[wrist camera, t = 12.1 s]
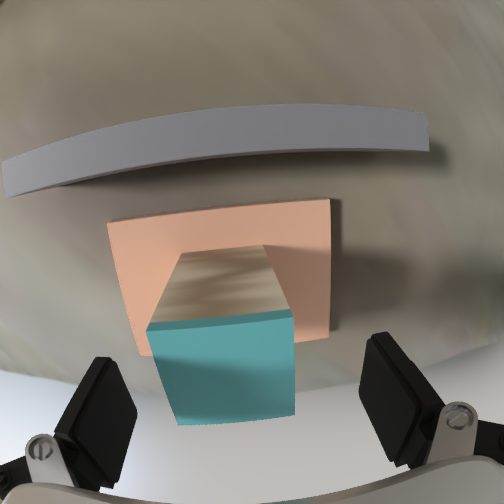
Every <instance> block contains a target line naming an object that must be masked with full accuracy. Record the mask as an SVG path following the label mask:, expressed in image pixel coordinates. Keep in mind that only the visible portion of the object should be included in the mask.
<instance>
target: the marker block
mask: <svg viewBox="0 0 504 504" xmlns="http://www.w3.org/2000/svg"><path fill="white" fill-rule="evenodd" d="M146 335H147V338H148V341H149V345H150V348H151V351H152V354H153V357H154V360H155V363H156V366H157V369H158V372H159V375H160V378H161V381H162V384H163V387H164V389H165V392H166V395H167V397H168V400H169V403H170V405H171V408H172V411H173V413H174V416H175V418H176V420H177V423H178V425H206V424H223V423H236V422H246V421H255V420H264V419H271V418H278V417H285V416H291V415H295V358H294V317H293V314H292V312H291V310H290V307H289V305H288V303H287V300H286V298H285V296H284V293H283V291H282V289H281V286H280V284H279V282H278V279H277V277H276V275H275V272H274V270H273V268H272V266H271V263H270V261H269V259H268V256H267V254H266V252H265V249H264V247H263V245H262V244H261V245H252V246H243V247H233V248H224V249H215V250H206V251H197V252H188V253H181V255H180V257H179V259H178V261H177V263H176V265H175V267H174V269H173V272H172V274H171V276H170V278H169V280H168V282H167V284H166V287H165V289H164V291H163V293H162V295H161V298H160V300H159V302H158V304H157V306H156V309H155V311H154V313H153V315H152V318H151V320H150V322H149V325H148V327H147V329H146Z"/></svg>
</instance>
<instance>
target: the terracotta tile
mask: <svg viewBox="0 0 504 504" xmlns="http://www.w3.org/2000/svg"><path fill="white" fill-rule="evenodd" d="M107 227H108V232H109V237H110V243H111V248H112V252H113V257H114V262H115V266H116V271H117V275H118V279H119V283H120V287H121V291H122V295H123V299H124V303H125V306H126V310H127V314H128V317H129V321H130V324H131V327H132V331H133V334H134V337H135V340H136V343H137V347H138V350H139V353H140V356H153V354H152V351H151V348H150V345H149V341H148V338H147V335H146V329H147V327H148V325H149V322H150V320H151V318H152V315H153V313H154V311H155V309H156V306H157V304H158V302H159V300H160V298H161V295H162V293H163V291H164V289H165V287H166V284H167V282H168V280H169V278H170V276H171V274H172V272H173V269H174V267H175V265H176V263H177V261H178V259H179V257H180V255H181V253H188V252H197V251H206V250H215V249H224V248H233V247H243V246H252V245H261V244H262V245H263V247H264V249H265V252H266V254H267V256H268V259H269V261H270V263H271V266H272V268H273V270H274V272H275V275H276V277H277V279H278V282H279V284H280V286H281V289H282V291H283V293H284V296H285V298H286V300H287V303H288V305H289V307H290V310H291V312H292V314H293V317H294V343H297V342H304V341H310V340H316V339H322V338H328V337H329V322H330V294H331V218H330V199H328V198H325V197H323V198H308V199H295V200H282V201H270V202H259V203H248V204H238V205H228V206H218V207H209V208H200V209H192V210H183V211H175V212H168V213H160V214H153V215H145V216H138V217H131V218H124V219H118V220H112V221H110V222H109V223H107Z"/></svg>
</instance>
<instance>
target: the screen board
mask: <svg viewBox="0 0 504 504" xmlns="http://www.w3.org/2000/svg"><path fill="white" fill-rule="evenodd" d="M326 151H370V152H382V151H429V137H428V125H427V115H426V113H421V112H414V111H407V110H399V109H391V108H382V107H371V106H358V105H340V104H266V105H248V106H235V107H223V108H214V109H205V110H197V111H189V112H182V113H176V114H169V115H163V116H158V117H152V118H147V119H142V120H137V121H132V122H127V123H123V124H118V125H114V126H110V127H106V128H102V129H98V130H94V131H90V132H87V133H83V134H80V135H76V136H73V137H70V138H66V139H63V140H60V141H57V142H54V143H51V144H48V145H45V146H42V147H39V148H36V149H34V150H31V151H28V152H26V153H23V154H20V155H18V156H15V157H13V158H10V159H8V160H5V161H3V162H2V174H3V184H4V192H5V199H6V198H10V197H14V196H18V195H22V194H27V193H31V192H35V191H40V190H44V189H49V188H54V187H59V186H63V185H67V184H71V183H75V182H79V181H84V180H88V179H92V178H97V177H102V176H107V175H112V174H117V173H122V172H127V171H133V170H138V169H144V168H150V167H156V166H163V165H169V164H176V163H183V162H191V161H199V160H207V159H216V158H226V157H236V156H247V155H260V154H275V153H294V152H326Z"/></svg>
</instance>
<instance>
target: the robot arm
mask: <svg viewBox="0 0 504 504" xmlns="http://www.w3.org/2000/svg"><path fill="white" fill-rule="evenodd" d="M359 397H360V400H361V402H362V404H363V406H364V408H365V410H366V412H367V414H368V416H369V419H370V421H371V423H372V425H373V427H374V429H375V431H376V433H377V435H378V438H379V440H380V442H381V445H382V447H383V449H384V451H385V453H386V456H387V458H388V459H389V461H390V462H393V461H394V463H395V466H396V467H399V466H402V465H404V464H407V465H408V467H409V468H410V470H409V471H406V472H403V473H400V474H397V475H395V476H392V477H389V478H385V479H383V480H379V481H376V482H372V483H369V484H365V485H362V486H358V487H354V488H350V489H346V490H343V491H338V492H334V493H329V494H325V495H319V496H314V497H308V498H303V499H296V500H289V501H282V502H272V503H262V504H504V425H502V424H496V423H491V422H487V421H482V420H478V416H477V412H476V410H475V409H474V408H473V407H472V406H471V405H469V404H467V403H464V402H452V403H449V404H447V405H445V404H444V402H443V401H442V399H441V398H440V397H439V396H438V394H437V393H436V391H435V390H434V389H433V387H432V386H431V385H430V384H429V382H428V381H427V379H426V378H425V377H424V376H423V374H422V373H421V372H420V370H419V369H418V368H417V366H416V365H415V364H414V363H413V362H412V361H411V360H410V359H409V358H408V357H407V355H406V354H405V353H404V352H403V350H402V349H401V348H400V347H399V345H398V344H397V343H396V341H395V340H394V339H393V338H392V336H391V335H390V334H389V333H388V332H381V333H376V334H373V335H372V336H371V339H368V340H367V344H366V351H365V357H364V363H363V369H362V375H361V381H360V386H359ZM136 419H137V409H136V407H135V405H134V402H133V400H132V398H131V396H130V394H129V391H128V389H127V387H126V385H125V382H124V380H123V378H122V375H121V373H120V370H119V368H118V365H117V363H116V362H115V361H113V360H112V359H111V358H110V357H96V358H95V359H94V360H93V362H92V364H91V365H90V367H89V369H88V370H87V372H86V374H85V376H84V377H83V379H82V381H81V382H80V384H79V386H78V388H77V389H76V391H75V393H74V395H73V397H72V398H71V400H70V402H69V404H68V406H67V407H66V409H65V411H64V413H63V415H62V417H61V419H60V421H59V423H58V424H57V426H56V428H55V430H54V432H55V434H54V436H53V437H52V436H50V435H48V434H39V435H36V436H34V437H32V438H31V439H30V440H29V441H28V443H27V445H26V447H25V456H23V457H20V458H18V459H16V460H13V461H11V462H8V463H6V464H3V465H0V504H170V503H160V502H151V501H144V500H137V499H130V498H124V497H118V496H113V495H108V494H103V493H100V492H99V490H100V487H106V488H111V489H113V487H114V484H115V483H117V482H118V481H119V478H120V474H121V471H122V467H123V463H124V460H125V456H126V453H127V449H128V446H129V442H130V439H131V435H132V432H133V429H134V425H135V422H136Z"/></svg>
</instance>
